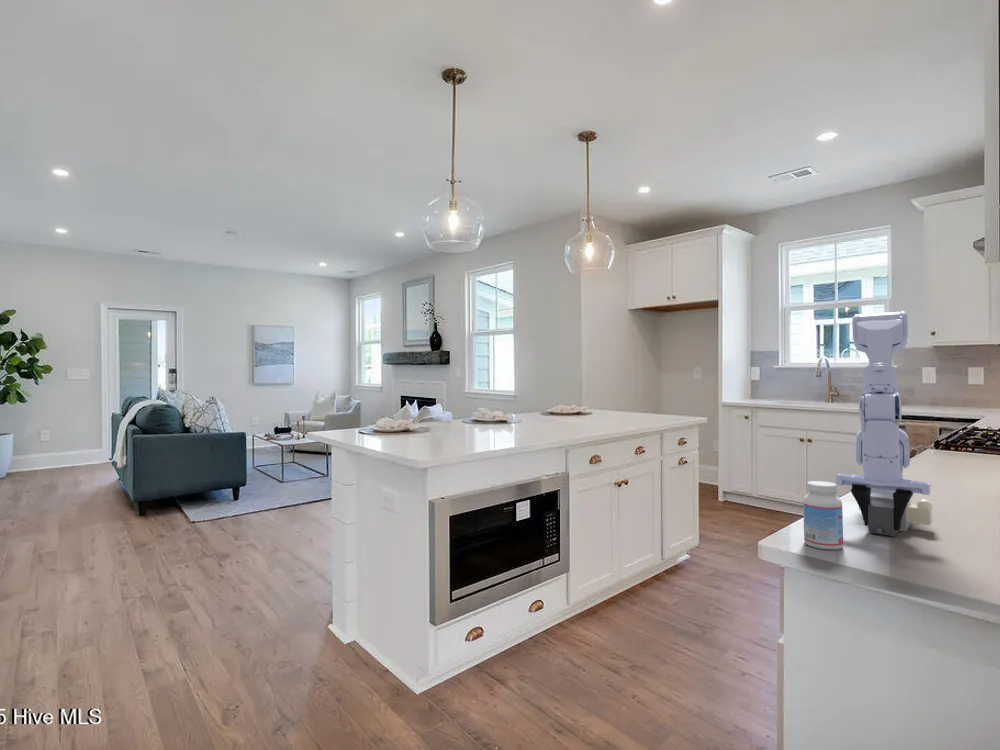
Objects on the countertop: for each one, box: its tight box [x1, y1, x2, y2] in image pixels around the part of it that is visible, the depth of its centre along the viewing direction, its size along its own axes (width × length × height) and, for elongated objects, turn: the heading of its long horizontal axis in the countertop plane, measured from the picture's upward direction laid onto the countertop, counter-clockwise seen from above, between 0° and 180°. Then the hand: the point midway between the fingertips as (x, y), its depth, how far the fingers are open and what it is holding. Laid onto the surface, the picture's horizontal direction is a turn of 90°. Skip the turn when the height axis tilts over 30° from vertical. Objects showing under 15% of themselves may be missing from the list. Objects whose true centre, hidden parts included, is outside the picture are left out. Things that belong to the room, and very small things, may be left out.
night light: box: [907, 499, 933, 526], centre depth 104 cm, size 3×4×4 cm
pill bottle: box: [802, 480, 844, 551], centre depth 96 cm, size 6×6×11 cm
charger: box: [867, 500, 899, 537], centre depth 103 cm, size 9×4×5 cm, turn 135°
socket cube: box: [870, 491, 912, 532], centre depth 107 cm, size 6×6×6 cm
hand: (882, 526), depth 102 cm, fingers closed on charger, 4 cm apart
